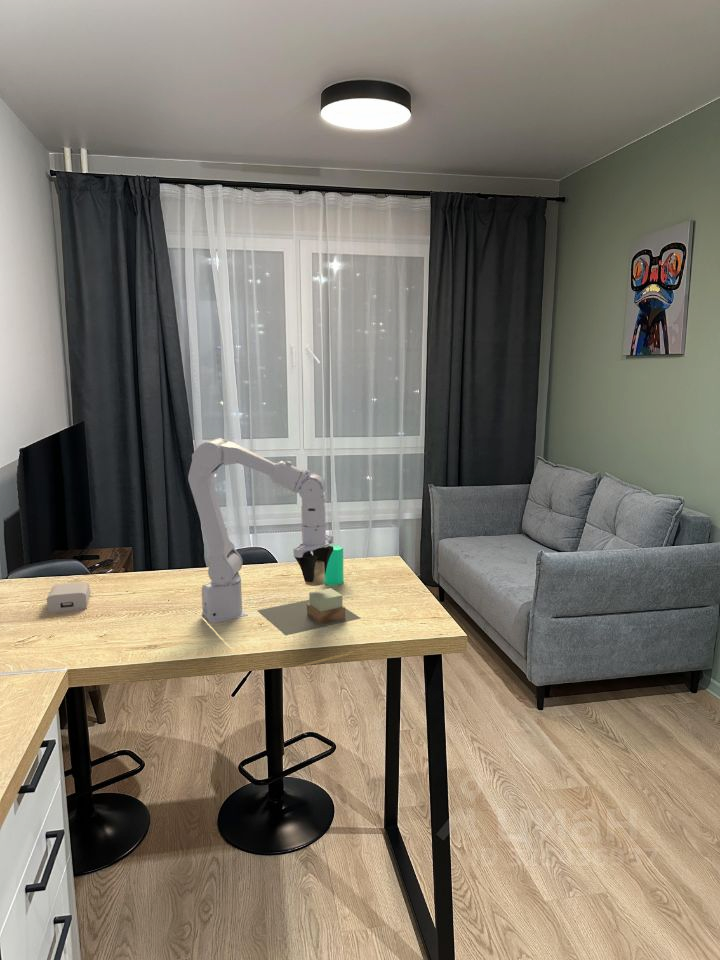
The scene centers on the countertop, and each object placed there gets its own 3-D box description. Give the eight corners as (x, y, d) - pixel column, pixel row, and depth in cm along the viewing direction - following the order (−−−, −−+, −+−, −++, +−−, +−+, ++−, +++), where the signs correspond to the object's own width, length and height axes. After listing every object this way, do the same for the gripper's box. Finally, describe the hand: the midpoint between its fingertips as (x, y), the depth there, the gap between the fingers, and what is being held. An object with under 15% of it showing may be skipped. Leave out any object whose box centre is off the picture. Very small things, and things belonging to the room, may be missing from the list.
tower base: (319, 624, 159) (319, 612, 158) (307, 615, 165) (306, 603, 164) (345, 618, 162) (345, 607, 162) (332, 609, 168) (331, 598, 168)
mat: (285, 637, 153) (285, 635, 153) (256, 612, 168) (256, 610, 168) (360, 620, 163) (360, 618, 163) (327, 597, 178) (327, 596, 178)
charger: (92, 590, 186) (86, 609, 171) (56, 594, 183) (48, 613, 169) (91, 574, 185) (85, 592, 170) (55, 577, 182) (46, 595, 168)
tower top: (320, 611, 159) (320, 599, 158) (309, 603, 164) (309, 592, 163) (342, 607, 162) (342, 595, 161) (331, 599, 167) (330, 588, 166)
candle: (343, 586, 187) (342, 545, 185) (321, 586, 187) (321, 545, 185) (343, 579, 193) (343, 539, 191) (323, 579, 193) (322, 539, 191)
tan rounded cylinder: (310, 587, 160) (310, 567, 159) (302, 581, 164) (301, 562, 163) (328, 583, 162) (327, 563, 162) (319, 578, 167) (318, 559, 166)
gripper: (310, 533, 153) (312, 589, 155) (343, 519, 165) (344, 572, 167) (285, 529, 156) (287, 584, 158) (319, 516, 168) (320, 568, 171)
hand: (314, 578), depth 163 cm, fingers closed on tan rounded cylinder, 5 cm apart
